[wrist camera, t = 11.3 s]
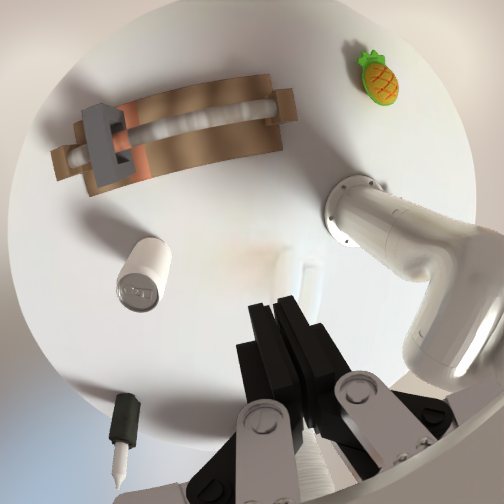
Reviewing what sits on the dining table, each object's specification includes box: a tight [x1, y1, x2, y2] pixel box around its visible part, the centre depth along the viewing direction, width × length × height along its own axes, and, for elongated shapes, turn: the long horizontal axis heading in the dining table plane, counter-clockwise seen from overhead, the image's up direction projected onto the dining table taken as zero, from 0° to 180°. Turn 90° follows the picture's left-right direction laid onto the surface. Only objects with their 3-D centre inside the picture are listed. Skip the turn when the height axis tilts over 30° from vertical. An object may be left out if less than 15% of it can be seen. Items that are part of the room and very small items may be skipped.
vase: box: [295, 417, 336, 503], centre depth 50 cm, size 20×20×34 cm
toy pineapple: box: [357, 50, 399, 106], centre depth 34 cm, size 7×10×5 cm
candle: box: [109, 393, 141, 490], centre depth 43 cm, size 5×5×25 cm
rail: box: [50, 74, 298, 197], centre depth 32 cm, size 30×12×10 cm, turn 100°
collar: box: [82, 103, 136, 188], centre depth 28 cm, size 2×9×9 cm, turn 10°
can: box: [117, 238, 171, 313], centre depth 37 cm, size 6×6×12 cm
